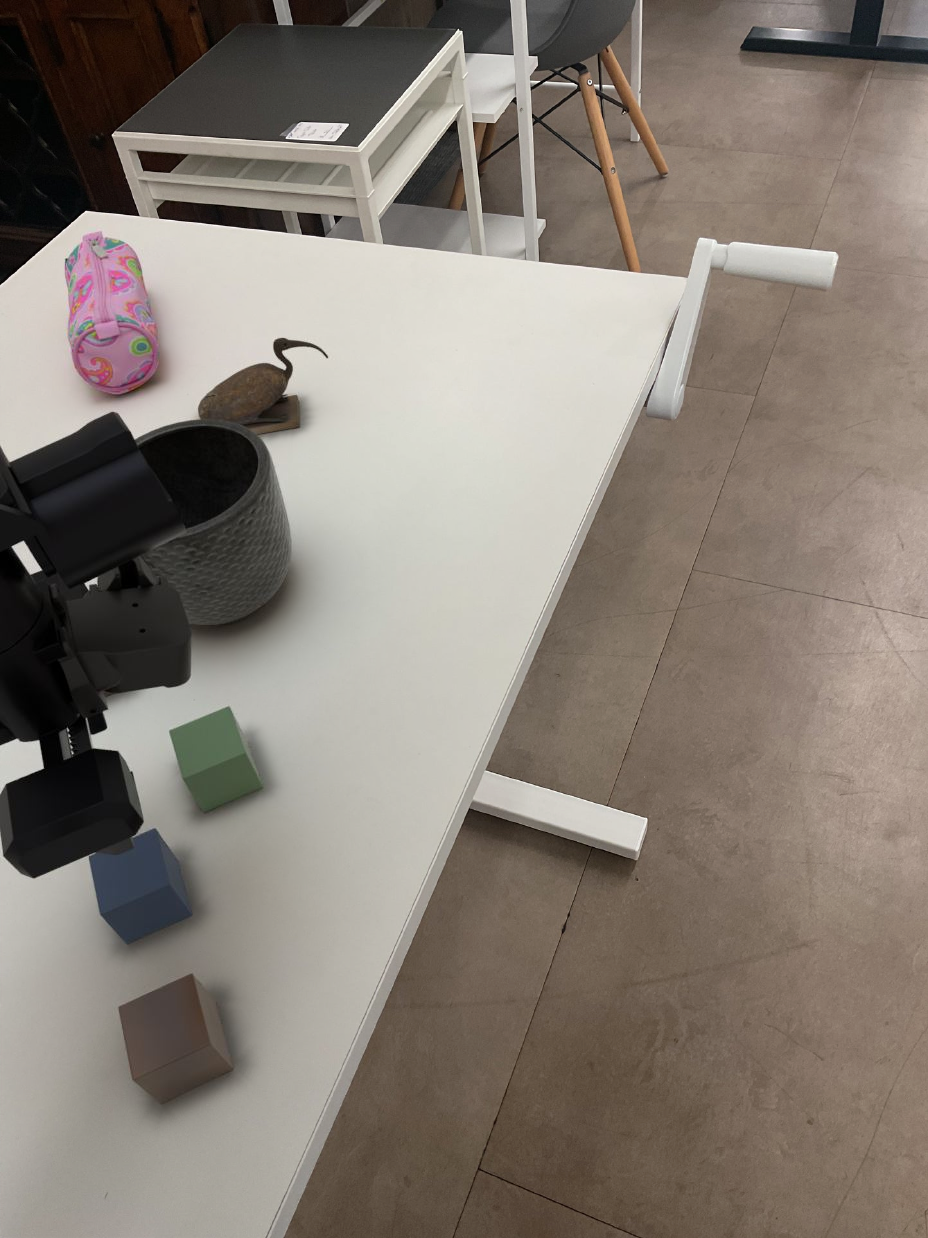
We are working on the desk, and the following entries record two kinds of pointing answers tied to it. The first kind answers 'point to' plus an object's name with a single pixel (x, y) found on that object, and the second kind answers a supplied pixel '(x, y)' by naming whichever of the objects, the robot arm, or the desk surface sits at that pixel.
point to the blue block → (140, 888)
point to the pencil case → (110, 315)
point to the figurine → (257, 395)
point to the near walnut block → (174, 1039)
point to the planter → (219, 519)
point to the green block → (215, 759)
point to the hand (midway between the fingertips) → (111, 787)
